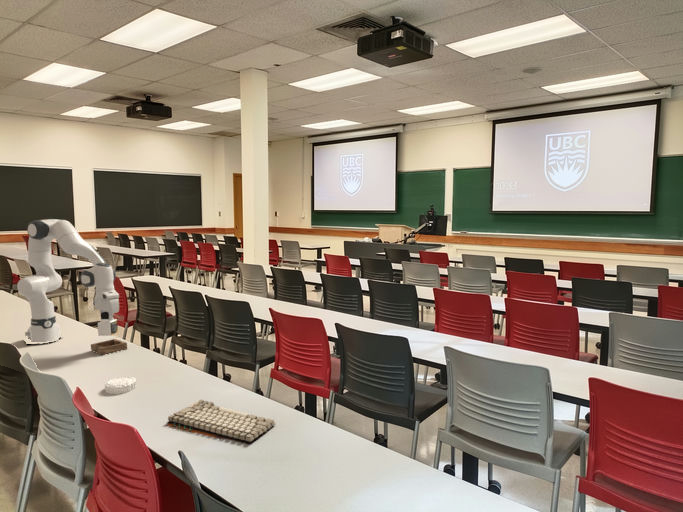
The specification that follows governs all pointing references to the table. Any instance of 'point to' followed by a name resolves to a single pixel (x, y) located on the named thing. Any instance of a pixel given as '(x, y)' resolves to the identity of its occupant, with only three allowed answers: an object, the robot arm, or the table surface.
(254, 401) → the table surface
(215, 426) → the mechanical keyboard
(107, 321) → the medicine bottle
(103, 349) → the brown wooden tray
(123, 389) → the mooncake
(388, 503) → the table surface
